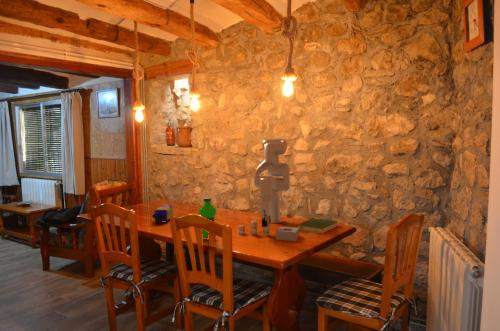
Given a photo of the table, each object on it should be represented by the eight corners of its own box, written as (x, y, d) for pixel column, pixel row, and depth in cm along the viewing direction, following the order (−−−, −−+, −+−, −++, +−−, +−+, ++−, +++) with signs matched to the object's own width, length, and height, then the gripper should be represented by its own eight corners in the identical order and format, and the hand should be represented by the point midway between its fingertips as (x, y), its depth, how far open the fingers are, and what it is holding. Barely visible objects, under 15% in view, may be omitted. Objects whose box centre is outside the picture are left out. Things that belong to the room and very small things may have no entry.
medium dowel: (251, 233, 238) (251, 221, 237) (257, 233, 236) (257, 221, 236) (250, 235, 234) (249, 222, 233) (256, 235, 233) (256, 222, 232)
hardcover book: (313, 223, 265) (313, 218, 265) (338, 226, 254) (338, 221, 254) (296, 230, 245) (296, 225, 245) (322, 234, 234) (322, 228, 234)
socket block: (279, 234, 234) (279, 226, 233) (299, 235, 230) (299, 227, 230) (275, 239, 222) (275, 231, 222) (296, 240, 219) (295, 232, 218)
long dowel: (264, 234, 235) (263, 212, 234) (270, 234, 234) (270, 212, 233) (262, 235, 231) (262, 213, 230) (268, 236, 230) (268, 213, 229)
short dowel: (239, 232, 240) (239, 225, 239) (245, 233, 239) (245, 225, 238) (237, 234, 236) (237, 226, 236) (243, 234, 235) (243, 226, 234)
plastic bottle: (217, 240, 222) (217, 199, 220) (200, 241, 219) (199, 199, 218) (215, 236, 231) (215, 196, 230) (198, 237, 229) (197, 197, 227)
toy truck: (174, 217, 291) (173, 204, 290) (166, 224, 266) (166, 210, 265) (161, 217, 291) (160, 204, 290) (152, 224, 266) (151, 210, 265)
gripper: (263, 195, 240) (263, 221, 242) (256, 199, 224) (256, 227, 225) (274, 195, 238) (275, 222, 240) (268, 200, 222) (268, 228, 223)
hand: (266, 225), depth 232 cm, fingers open, 9 cm apart
